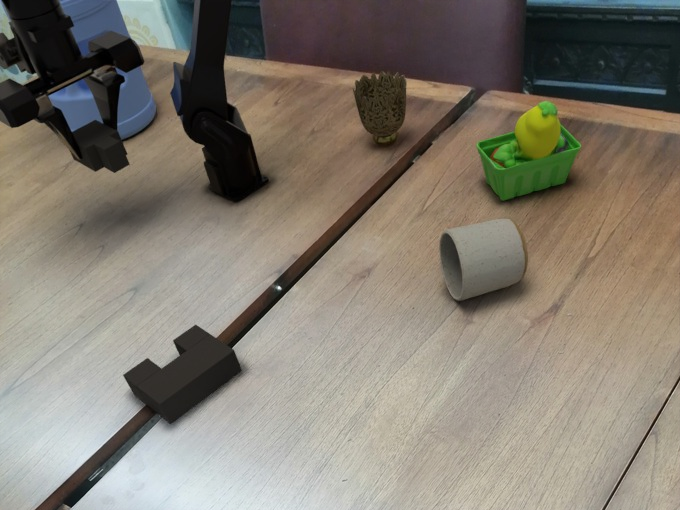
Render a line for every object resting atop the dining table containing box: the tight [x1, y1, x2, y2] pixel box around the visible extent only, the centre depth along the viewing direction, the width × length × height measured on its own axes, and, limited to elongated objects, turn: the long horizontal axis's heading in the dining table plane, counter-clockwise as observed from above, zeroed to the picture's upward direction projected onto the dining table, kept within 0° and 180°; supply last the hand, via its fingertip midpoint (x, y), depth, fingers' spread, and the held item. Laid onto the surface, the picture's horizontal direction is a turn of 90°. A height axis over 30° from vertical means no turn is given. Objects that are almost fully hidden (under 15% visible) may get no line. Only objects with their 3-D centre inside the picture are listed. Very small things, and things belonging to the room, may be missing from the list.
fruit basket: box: [476, 100, 582, 201], centre depth 86 cm, size 11×9×11 cm
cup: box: [352, 70, 408, 147], centre depth 98 cm, size 8×7×8 cm
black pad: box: [69, 120, 131, 174], centre depth 88 cm, size 5×8×3 cm, turn 46°
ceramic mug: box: [438, 218, 529, 302], centre depth 78 cm, size 11×8×8 cm
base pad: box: [122, 324, 242, 424], centre depth 75 cm, size 10×7×3 cm
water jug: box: [0, 0, 157, 141], centre depth 103 cm, size 16×16×28 cm
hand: (97, 149), depth 89 cm, fingers closed on black pad, 5 cm apart
